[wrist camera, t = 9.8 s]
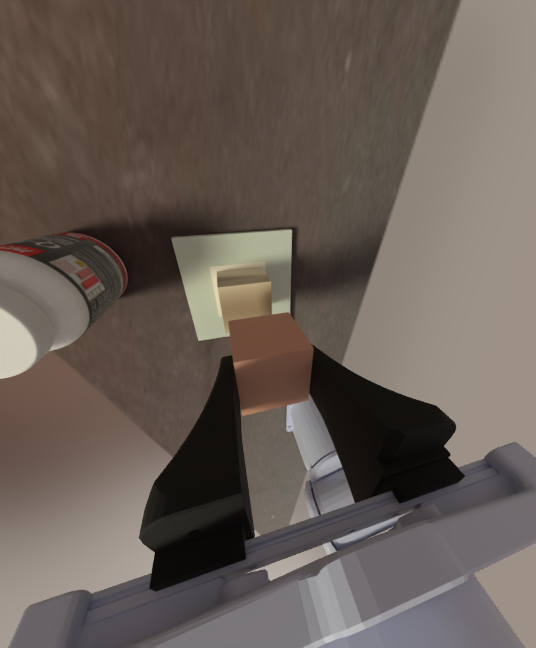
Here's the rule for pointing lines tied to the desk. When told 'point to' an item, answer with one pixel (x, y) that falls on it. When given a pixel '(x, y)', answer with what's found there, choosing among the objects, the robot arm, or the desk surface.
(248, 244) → the board
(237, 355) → the terracotta cube
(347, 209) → the desk surface
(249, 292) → the beech cube
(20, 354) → the pill bottle
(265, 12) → the desk surface
